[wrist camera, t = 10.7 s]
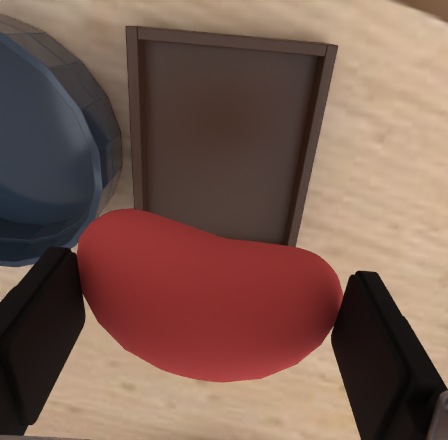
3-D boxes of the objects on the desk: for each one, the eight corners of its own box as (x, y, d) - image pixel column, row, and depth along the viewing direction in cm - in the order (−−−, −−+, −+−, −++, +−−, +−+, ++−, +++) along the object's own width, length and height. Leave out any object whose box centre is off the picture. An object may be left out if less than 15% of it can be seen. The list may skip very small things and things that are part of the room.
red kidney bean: (245, 321, 18) (333, 413, 13) (54, 310, 13) (63, 446, 8) (278, 226, 17) (386, 279, 12) (87, 180, 13) (121, 233, 7)
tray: (143, 240, 27) (136, 256, 25) (135, 25, 20) (125, 25, 18) (286, 252, 27) (291, 269, 26) (328, 43, 20) (338, 45, 19)
